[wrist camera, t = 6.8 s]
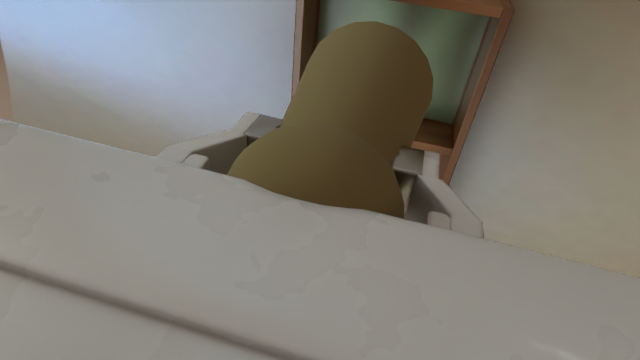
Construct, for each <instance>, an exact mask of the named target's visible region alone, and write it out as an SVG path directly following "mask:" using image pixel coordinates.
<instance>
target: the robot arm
mask: <svg viewBox="0 0 640 360" xmlns="http://www.w3.org/2000/svg"><path fill="white" fill-rule="evenodd" d="M282 122H283V120H282V119H278V118H274V117H270V116H266V115H261V114H258V113H253V112H246V113H245V115H244V116H243V117H242V118H241V119H240V120H239V121H238V122H237V123H236V124H235V125H234V126H233V127H232V128H231V129H230V130H229V131H227V130H224V131H220V132H217V133H213V134H209V135H206V136H202V137H199V138H195V139H191V140H188V141H184V142H181V143H177V144H173V145H170V146H167V147H166V148H165V149H164V150H163V151H162V152H160V153H159V154H158V155H157V156H156V157H152V156H148V155H144V154H140V153H136V152H132V151H128V150H124V149H119V148H115V147H111V146H107V145H103V144H99V143H95V142H91V141H87V140H83V139H79V138H75V137H71V136H67V135H63V134H59V133H55V132H51V131H47V130H43V129H39V128H35V127H31V126H27V125H23V124H19V123H15V122H11V121H7V120H3V119H0V360H640V277H636V276H632V275H628V274H624V273H620V272H616V271H612V270H608V269H604V268H600V267H596V266H592V265H588V264H584V263H580V262H576V261H571V260H567V259H563V258H559V257H555V256H551V255H547V254H543V253H539V252H535V251H531V250H527V249H523V248H519V247H515V246H511V245H507V244H503V243H499V242H495V241H491V240H487V239H484V232H483V222H482V221H481V220H480V219H479V218H478V217H477V216H476V215H475V214H474V213H473V212H472V211H471V210H470V209H469V207H468V206H467V205H466V204H465V203H464V202H463V201H462V200H461V199H460V198H459V197H458V196H457V195H456V194H455V192H454V191H453V190H452V189H451V188H450V187H449V186H448V185H447V184H446V183H445V182H444V181H443V180H441V179H439V162H440V154H439V153H436V152H431V151H425V150H421V149H416V148H410V147H405V146H401V148H400V150H399V152H398V154H397V156H396V158H395V159H394V161H393V163H392V165H391V167H392V168H393V170H394V173H395V176H396V178H397V181H398V184H399V187H400V189H401V192H402V196H403V200H404V204H405V207H404V219H402V218H398V217H394V216H390V215H386V214H382V213H378V212H374V211H370V210H365V209H353V208H343V207H335V206H326V205H320V204H315V203H311V202H307V201H303V200H298V199H294V198H291V197H287V196H284V195H280V194H277V193H274V192H271V191H269V190H266V189H264V188H262V187H260V186H257V185H255V184H253V183H251V182H248V181H246V180H244V179H241V178H237V177H233V176H229V175H227V174H228V172H229V170H230V168H231V166H232V165H233V163H234V161H235V159H236V158H237V157H238V156H239V155H240V154H241V152H242V151H243V150H244V149H245V148H247V147H248V146H249V145H251V144H252V143H253V142H254V141H256V140H257V139H258V138H260V137H261V136H262V135H264V134H266V133H268V132H270V131H272V130H273V129H276V128H280V126H281V125H282Z"/></svg>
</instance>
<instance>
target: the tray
mask: <svg viewBox="0 0 640 360" xmlns="http://www.w3.org/2000/svg"><path fill="white" fill-rule="evenodd" d="M513 13H514V8H513V6H512V4H511V2H510V1H509V0H296V15H295V35H294V56H293V76H292V96H291V100H292V97H293V95H294V93H295V91H296V88H297V86H298V84H299V82H300V79H301V77H302V75H303V73H304V70H305V68H306V66H307V64H308V61H309V59H310V57H311V56H312V54H313V52H314V51H315V49H316V47H317V45H318V44H319V42H321V41H322V40H323V39H324V38H325V37H326V36H328V35H329V34H330V33H331V32H332V31H333V30H335V29H337V28H340V27H342V26H345V25H348V24H350V23H353V22H368V21H377V22H380V23H384V24H387V25H390V26H393V27H397V28H399V29H400V30H401V31H403V32H404V33H405V34H407V35H408V36H410V37H411V38H412V39H414V40H415V41H416V42H417V44H418V45H419V46H420V48H421V49H422V51H423V52H424V54H425V55H426V57H427V58H428V61H429V64H430V68H431V72H432V75H433V92H432V100H431V102H430V105H429V107H428V109H427V111H426V114H425V116H424V118H423V121H422V123H421V125H420V127H419V130H418V132H417V134H416V136H415V139H414V141H413V143H412V146H411V148H416V149H421V150H425V151H431V152H436V153H439V154H440V162H439V179H441V180H443V181H444V182H445V183H446V184H447V185H448V184H449V182H450V179H451V177H452V174H453V171H454V169H455V166H456V163H457V161H458V158H459V155H460V153H461V150H462V148H463V145H464V142H465V140H466V137H467V134H468V132H469V129H470V126H471V124H472V121H473V119H474V116H475V113H476V111H477V108H478V105H479V103H480V100H481V97H482V95H483V92H484V90H485V87H486V84H487V82H488V79H489V76H490V74H491V71H492V68H493V66H494V63H495V61H496V58H497V55H498V53H499V50H500V47H501V45H502V42H503V39H504V37H505V34H506V32H507V29H508V26H509V24H510V21H511V18H512V16H513Z"/></svg>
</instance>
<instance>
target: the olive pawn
mask: <svg viewBox="0 0 640 360" xmlns="http://www.w3.org/2000/svg"><path fill="white" fill-rule="evenodd" d="M432 92H433V75H432V72H431V68H430V64H429V61H428V58H427V57H426V55H425V54H424V52H423V51H422V49H421V48H420V46H419V45H418V44H417V42H416V41H415V40H414V39H412V38H411V37H410V36H408V35H407V34H405V33H404V32H403V31H401V30H400V29H399V28H397V27H393V26H390V25H387V24H384V23H380V22H377V21H368V22H353V23H350V24H348V25H345V26H342V27H340V28H337V29H335V30H333V31H332V32H331V33H330V34H329V35H328V36H326V37H325V38H324V39H323V40H322V41H321V42H319V44H318V45H317V47H316V49H315V51H314V52H313V54H312V56H311V57H310V59H309V61H308V64H307V66H306V68H305V70H304V73H303V75H302V77H301V79H300V82H299V84H298V86H297V88H296V91H295V93H294V95H293V97H292V100H291V102H290V104H289V107H288V109H287V111H286V113H285V116H284V118H283V122H282V125H281V126H280V128H276V129H273V130H272V131H270V132H268V133H266V134H264V135H262V136H261V137H260V138H258V139H257V140H256V141H254V142H253V143H252V144H251V145H249V146H248V147H247V148H245V149H244V150H243V151H242V152H241V154H240V155H239V156H238V157H237V158H236V159H235V161H234V163H233V165H232V166H231V168H230V170H229V172H228V174H227V175H229V176H233V177H237V178H241V179H244V180H246V181H248V182H251V183H253V184H255V185H257V186H260V187H262V188H264V189H266V190H269V191H271V192H274V193H277V194H280V195H284V196H287V197H291V198H294V199H298V200H303V201H307V202H311V203H315V204H320V205H326V206H335V207H343V208H353V209H365V210H370V211H374V212H378V213H382V214H386V215H390V216H394V217H398V218H402V219H404V207H405V204H404V200H403V196H402V192H401V189H400V187H399V184H398V181H397V178H396V176H395V173H394V170H393V168H392V167H391V165H392V163H393V161H394V159H395V158H396V156H397V154H398V152H399V150H400V148H401V146H405V147H410V148H411V146H412V143H413V141H414V139H415V136H416V134H417V132H418V130H419V127H420V125H421V123H422V121H423V118H424V116H425V114H426V111H427V109H428V107H429V105H430V102H431V100H432Z"/></svg>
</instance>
